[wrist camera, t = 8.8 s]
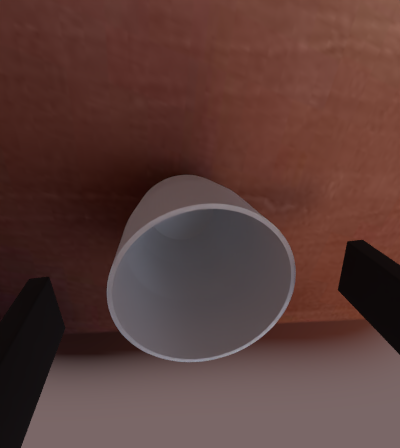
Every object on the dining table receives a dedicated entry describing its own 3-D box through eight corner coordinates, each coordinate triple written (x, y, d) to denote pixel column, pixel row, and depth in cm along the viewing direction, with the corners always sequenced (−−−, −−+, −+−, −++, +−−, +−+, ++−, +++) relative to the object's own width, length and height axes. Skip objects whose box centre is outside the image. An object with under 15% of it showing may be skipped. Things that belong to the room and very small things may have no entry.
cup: (193, 272, 24) (220, 381, 15) (103, 224, 21) (69, 324, 12) (255, 194, 22) (331, 264, 13) (166, 129, 19) (183, 160, 10)
